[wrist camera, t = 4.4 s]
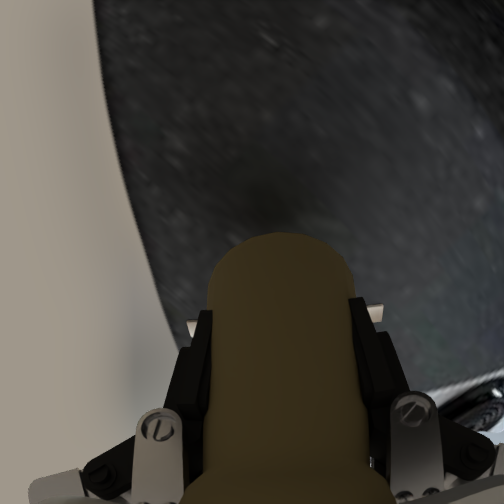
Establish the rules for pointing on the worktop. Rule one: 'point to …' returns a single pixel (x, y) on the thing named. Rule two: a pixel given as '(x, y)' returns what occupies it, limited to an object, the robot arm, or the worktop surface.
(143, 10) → the worktop surface
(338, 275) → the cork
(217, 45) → the worktop surface
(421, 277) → the worktop surface
